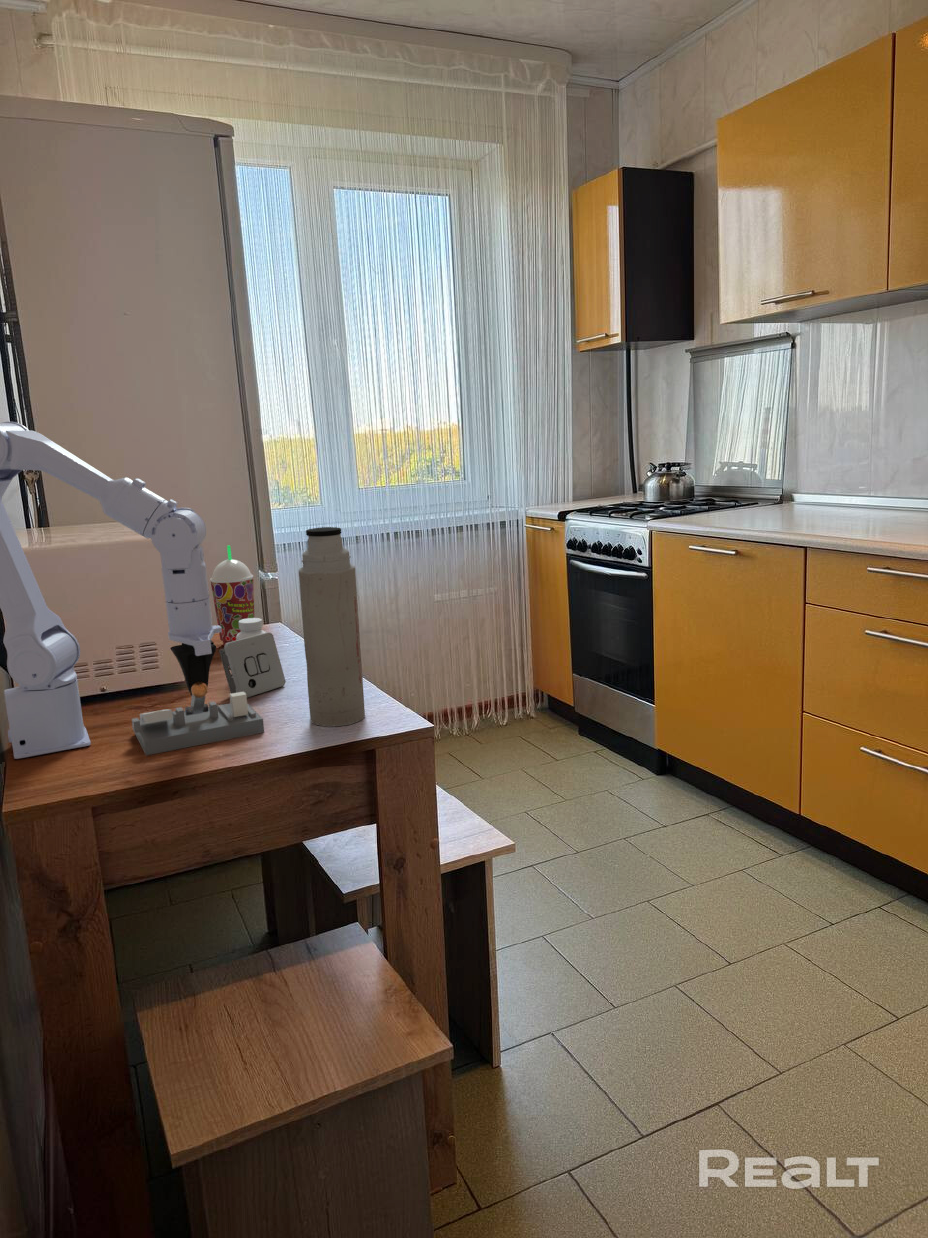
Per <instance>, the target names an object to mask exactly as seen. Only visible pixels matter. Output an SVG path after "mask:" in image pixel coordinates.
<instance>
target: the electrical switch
mask: <svg viewBox="0 0 928 1238" xmlns="http://www.w3.org/2000/svg"><path fill="white" fill-rule="evenodd" d="M223 646H224V645H223ZM218 653H219V657H220V660H221V663H222V666H223V671H224V674H225V677H226V681H227V685H228V689H229V692H230V693H229V694H232V693H238V692H244V693H245V694H246V697H247V698H250V697H253V696H256V695H259V694H263V693H266V692H269V691H271V690H275V689H278V688H282V687H283V686H285V685H286V682H287V681H286V677H285V674H284V670H283V666H282V664H281V660H280V656H279V652H278V648H277V644H276V641H275V637H274V635H273V633H271V632H269V631H268V632H266V633H263V634H259V635H256V636H252V637H248V638H244V639H240V640H236V641H232V642H228V643H226V644H225V646H224V647H223V648H221V649H219V650H218Z"/></svg>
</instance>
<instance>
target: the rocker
mask: <svg viewBox="0 0 928 1238" xmlns="http://www.w3.org/2000/svg"><path fill="white" fill-rule="evenodd" d="M172 712H173V709H160V710H155V711H149V712H143V713H140V714H139V720H141V723H150V722H156V721H161V720H167V719H172V718H173V714H172Z"/></svg>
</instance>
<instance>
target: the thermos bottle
mask: <svg viewBox="0 0 928 1238" xmlns="http://www.w3.org/2000/svg"><path fill="white" fill-rule="evenodd" d="M305 533H306V536H307V537H308V539H307V549H305V550H304V551H303V552H302V554H301V555H302V560H301V563H302V567H300V568H299V569H298V580H299V581H298V583H299V595H300V606H301V608H300V609H301V619H302V630H303V643H304V644H303V645H304V654H305V661H306V677H307V678H306V679H307V693H308V705H309V717H310V719H309V720H310V722H311V723H312V724H314V725H316V726H321V727H329V726H330V728H331V727H332V728H333V727H344V726H349V725H352V724H356V723H359V722H361V721H362V720H363V719H365V716H366V713H365V712H366V711H365V710H366V709H365V698H364V697H365V695H364V694H365V693H364V682H363V681H364V680H363V667H362V663H363V662H362V654H361V653H362V651H361V637H360V636H361V635H360V620H359V619H360V618H359V607H358V590H357V588H358V587H357V576H356V575H357V574H356V567H355V565H354V564H351V561H350V560H351V559H350V558H351V555H350V551H349V549H347V548H345V547H344V546H343V544H344V543H343V538H342V528H341V527H335V526H330V527H329V526H324V527H323V526H322V527H321V526H319V527H311V528H308V529H306V530H305Z"/></svg>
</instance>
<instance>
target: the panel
mask: <svg viewBox="0 0 928 1238" xmlns="http://www.w3.org/2000/svg"><path fill="white" fill-rule="evenodd" d="M247 707H248V715H243V716H237V717H234V716H233V715H232V714H231V705H230V702H229V703H224V704H217V703H216V702H215V701H208V712H204V713H200V714H194V715H188V716H186V713H185V709H183V707H182V706H180V707H175V710H172V714H173V718H172V719H167V720H161V721H156V722H150V723H141V720H140V718H139V717H133V718H131V724H132V730H133V733H134V735H135V737H136V738H137V741H138V743H139V745H140V746H141V748H142V750H143V752H144V755H145V756H150V755H156V754H161V753H165V752H171V751H175V750H181V749H185V748H190V747H192V748H193V747H195V746H197V747H198V746H200V745H206V744H211V743H216V742H221V741H227V740H231V739H236V738H241V737H247V736H251V735H257V734H262V733H265V726H264V718H263V716H261V715H260V714H259V713H258V712H257V711H256V710H255V709H254V708H253V707H252V706H251V705H250V704H249V703H248V702H247Z"/></svg>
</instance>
